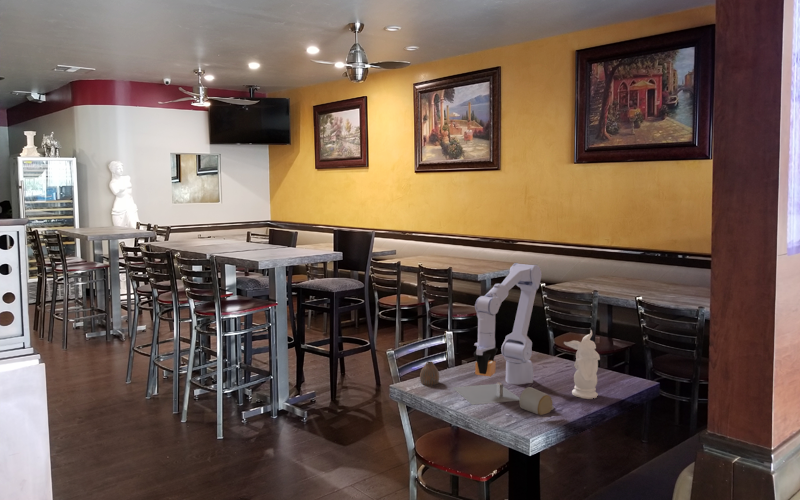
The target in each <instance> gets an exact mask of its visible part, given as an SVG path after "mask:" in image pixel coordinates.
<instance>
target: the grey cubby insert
mask: <svg viewBox="0 0 800 500" xmlns="http://www.w3.org/2000/svg"><path fill="white" fill-rule="evenodd" d="M496 384H497V394H496V396H498V397H499V398H503V387H504V384H503V383H502V382H501V381H500V382H496Z"/></svg>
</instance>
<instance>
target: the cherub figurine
mask: <svg viewBox="0 0 800 500" xmlns="http://www.w3.org/2000/svg"><path fill="white" fill-rule="evenodd" d="M592 336H593V330H592V329H590V333H589V334H586V335H585V336H583V337H582V339H581V341H579V340H571V341H563V344H564V345H565V346H566V347H569V348H571V349H573V350H577V351H576V353H575V358H576V359H575V361H574V364H573V365H574V366H573V367H574V368H575V370H576V371H575V372H574V375H573V382H574V388H573V389H572V390H571V394H572V395H573V396H574V397H576V398H577V397H578V398H579V399H587V400H593V398H594V399H596V398H598V397H597V396H598V395H599V394H598V392H596V390H597V388H596V387H597V384H598V376H597V372H598V368H599V361H600V360H601V357H600V354H599V353H598V352H597V351H596V349H597V345H596V343H595V341H593V340H591V338H592Z"/></svg>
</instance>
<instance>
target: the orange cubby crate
mask: <svg viewBox="0 0 800 500" xmlns="http://www.w3.org/2000/svg"><path fill="white" fill-rule="evenodd" d="M496 362H497V361H496V360H493V361H492V360H489V361H488V366H487V371H486V374H481V373H479V369H478V364H477V361H476V362H475V368H474V369H475V370H474V374H475V375H477V376H484V377H492V376H494V374H496V370H497V368H496V366H497V365H496V364H497V363H496Z"/></svg>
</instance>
